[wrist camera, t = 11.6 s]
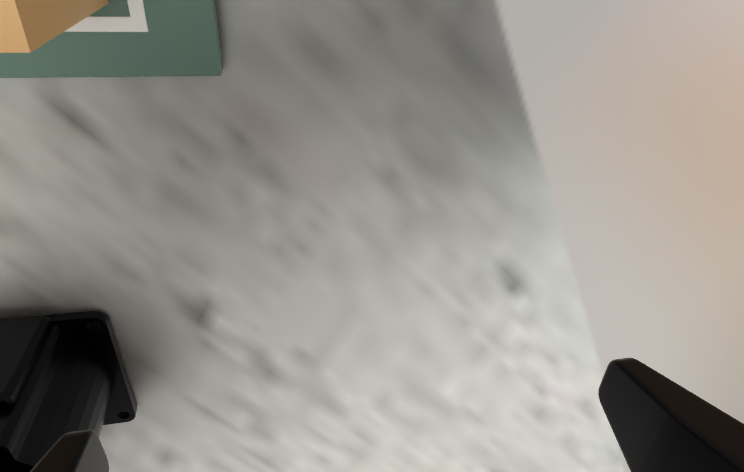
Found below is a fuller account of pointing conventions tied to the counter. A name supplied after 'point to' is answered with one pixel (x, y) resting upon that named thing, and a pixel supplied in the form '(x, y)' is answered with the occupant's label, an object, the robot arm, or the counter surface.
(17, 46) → the block
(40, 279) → the counter surface
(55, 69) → the board
